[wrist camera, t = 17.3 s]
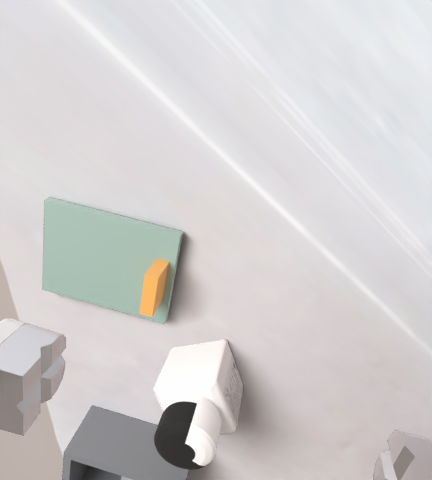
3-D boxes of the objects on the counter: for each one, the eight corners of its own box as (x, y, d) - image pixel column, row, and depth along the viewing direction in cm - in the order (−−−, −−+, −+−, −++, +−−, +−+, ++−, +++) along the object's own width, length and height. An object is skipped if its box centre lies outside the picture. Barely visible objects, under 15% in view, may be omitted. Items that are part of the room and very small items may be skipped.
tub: (197, 437, 58) (183, 490, 51) (183, 490, 63) (168, 545, 56) (92, 405, 59) (63, 452, 52) (86, 459, 64) (60, 509, 57)
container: (190, 392, 55) (161, 481, 43) (170, 346, 53) (134, 427, 41) (244, 386, 53) (229, 477, 41) (227, 337, 50) (206, 419, 39)
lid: (184, 229, 46) (170, 250, 41) (169, 314, 51) (154, 344, 46) (53, 195, 47) (22, 211, 42) (51, 281, 52) (22, 306, 47)
